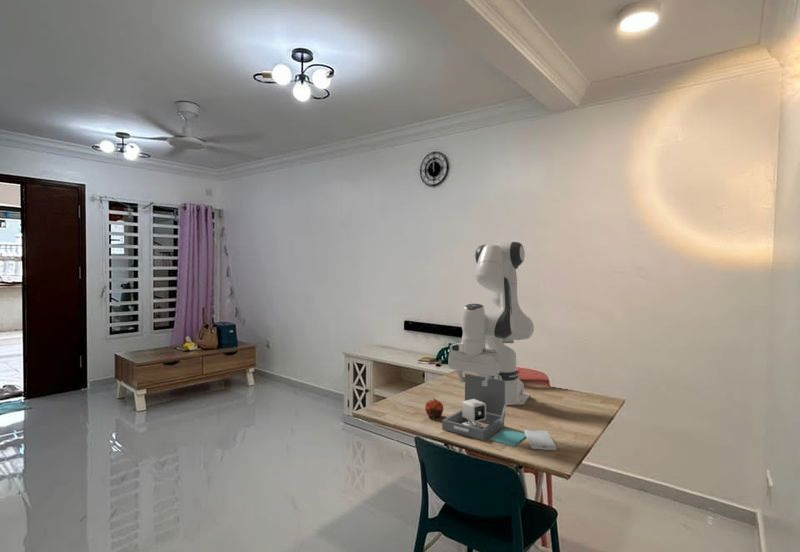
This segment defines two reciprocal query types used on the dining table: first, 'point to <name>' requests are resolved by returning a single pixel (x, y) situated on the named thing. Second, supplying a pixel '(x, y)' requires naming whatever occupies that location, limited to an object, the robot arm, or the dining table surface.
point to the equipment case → (494, 407)
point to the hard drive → (540, 440)
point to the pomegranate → (434, 408)
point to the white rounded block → (473, 412)
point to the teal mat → (508, 437)
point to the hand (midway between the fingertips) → (473, 383)
